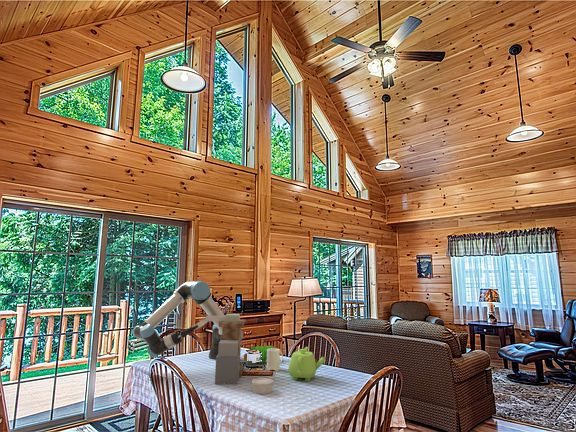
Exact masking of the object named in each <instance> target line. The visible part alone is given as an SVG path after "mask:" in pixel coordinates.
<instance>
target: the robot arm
mask: <svg viewBox="0 0 576 432" xmlns="http://www.w3.org/2000/svg"><path fill="white" fill-rule="evenodd" d="M189 299H192V300H193V302H194V303H195V305H197V306H200V307H201V308H202V310H203V311H204V312H205V314H206V316H226V314H224V313H223V311H222V310H221V308H220V307H219V306H218V304H217V303H216V302H215V301H214V300H213V297H212V293H211V287H210V286H209V284H208V283H207V282H206V281H203V280H188V281H186V282H184V283H183V284H181V285H180V286H179V287H178V288H176V290H174V291H173V294H172V295H171V296H170V297H169V298H168V299H166V300H165V302H164V303H163V304H161V306H159V307H158V308H157V309H156V310H154V312H153V313H152V314H150V316H148V317H147V318H146V319H145V320H144V321H143V322H142V323H141V324H140V325H136V326H134V328H133V329H132V336H133V337H134V338H136V339H138V340H141V341H144V342H145V343H146V344H147V345H148V346H147V348H146V350H147V353H148V356H149V357H151V358H156V357H158V356H160V355H162V354H163V353H165V352H167V351H169V350H170V349H172V350H173V349H174V347H175V346H177V345H179V344H181V343H182V342H183V339H184V338H186V337H187V336H188V335H190V334H191V333H194V332H195V331H197V330H199V329H200V328H202V327H203V326H205V324H207V323H209V321H206V318H203V319H202V320H201V321H198V322H195V324H193V325H192V326H190V327H189V328H188V327H187V328H185V329H183V330H181V331H180V332H179V331H178V330H175V331H173V332H171V334H168V335H166V336H164V337H163V338H161V337H160V336H159V334H158V333H157V331H156V329H155V328H156V327H157V326H159V325H160V324H161V323H162V321H164V320H165V319H166V318H168V316H169V315H170V314H171V313H172V312H174V310H175V309H176V308H178V307H179V306H180V305H181V304H183V303H185V302H186V301H187V300H189ZM212 322H213V325H212V331H211V333H212V335H211V336H212V337H211V348H210V351H209V353H208V358H209V359H212V360H216V356H217V355H218V349H219V342H220V341H221V340H222V329H223V327H219V323H220V322H221V321H212ZM243 333H244V332H243V330H242V329H241V341H242V340H243Z"/></svg>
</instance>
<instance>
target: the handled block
mask: <svg viewBox="0 0 576 432" xmlns="http://www.w3.org/2000/svg"><path fill="white" fill-rule="evenodd" d="M205 319H206V321H208V322H213V321H225V322H239V321H240V319H241V314H240V313H226V314H225V316H208V315H205Z"/></svg>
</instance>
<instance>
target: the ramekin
mask: <svg viewBox="0 0 576 432" xmlns="http://www.w3.org/2000/svg"><path fill="white" fill-rule="evenodd" d="M274 382H275V381H274V379H271V378H266V377H261V378H260V377H258V378H254V379H252V381H251V384H252V391H253V392H254V393H255V394H258V395H268V394H270V393H271V392H273V386H274Z"/></svg>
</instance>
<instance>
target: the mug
mask: <svg viewBox="0 0 576 432" xmlns="http://www.w3.org/2000/svg"><path fill="white" fill-rule="evenodd" d="M276 348H277V347H275V348H270V349H267V360H266V367H267V368H270V369H274V370H275V371H274V372H278V371H280V370H281V368H280V367H281V366H280V365H281V363H282V361H283V359H284V354H283V353H282V351H281V349H279V348H277V349H276ZM280 355H281V357H280ZM280 358H281V359H280Z"/></svg>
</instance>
